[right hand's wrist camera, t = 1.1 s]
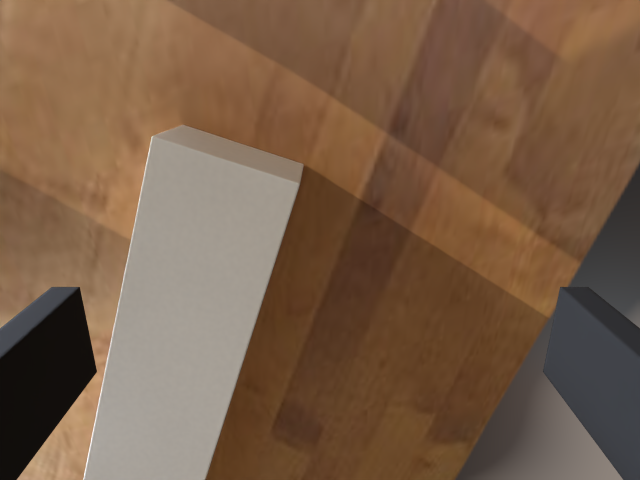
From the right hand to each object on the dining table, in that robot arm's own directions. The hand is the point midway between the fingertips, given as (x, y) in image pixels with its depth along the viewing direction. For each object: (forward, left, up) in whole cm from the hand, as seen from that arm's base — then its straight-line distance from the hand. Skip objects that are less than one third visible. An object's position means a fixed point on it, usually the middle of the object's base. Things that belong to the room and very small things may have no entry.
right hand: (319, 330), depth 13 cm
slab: (+4, -31, -26) cm, 41 cm away
